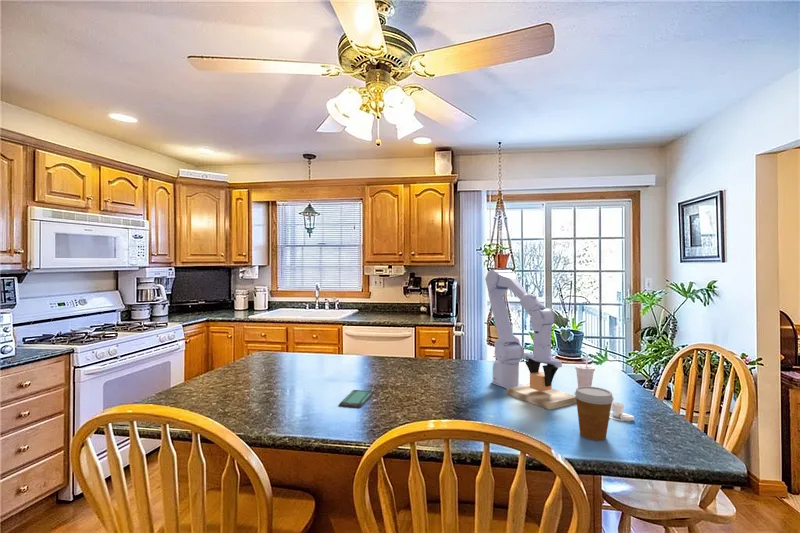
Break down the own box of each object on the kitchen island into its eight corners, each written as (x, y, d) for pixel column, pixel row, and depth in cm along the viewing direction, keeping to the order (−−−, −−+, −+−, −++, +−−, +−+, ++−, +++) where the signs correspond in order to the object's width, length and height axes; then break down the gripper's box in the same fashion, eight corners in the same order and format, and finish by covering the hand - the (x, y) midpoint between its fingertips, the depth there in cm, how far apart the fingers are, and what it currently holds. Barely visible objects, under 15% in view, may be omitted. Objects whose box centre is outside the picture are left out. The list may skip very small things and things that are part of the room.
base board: (506, 393, 145) (507, 388, 145) (534, 388, 152) (534, 382, 152) (549, 409, 129) (549, 403, 129) (577, 402, 136) (577, 396, 136)
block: (529, 387, 141) (529, 373, 141) (539, 385, 144) (539, 371, 144) (541, 391, 137) (541, 376, 137) (551, 389, 140) (551, 374, 140)
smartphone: (338, 403, 129) (353, 389, 143) (338, 407, 129) (353, 392, 143) (361, 405, 127) (373, 390, 142) (361, 409, 127) (373, 394, 142)
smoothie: (596, 397, 143) (597, 357, 143) (576, 395, 144) (577, 356, 144) (591, 391, 149) (592, 353, 149) (572, 390, 150) (573, 352, 150)
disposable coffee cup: (567, 428, 114) (568, 385, 114) (599, 428, 115) (600, 385, 115) (585, 443, 105) (586, 396, 105) (620, 443, 106) (621, 396, 106)
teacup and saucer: (638, 424, 120) (638, 410, 120) (609, 422, 121) (609, 408, 121) (627, 413, 128) (627, 400, 128) (600, 411, 130) (600, 398, 130)
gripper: (517, 341, 145) (516, 380, 145) (552, 349, 132) (551, 391, 132) (531, 340, 148) (530, 377, 148) (566, 347, 136) (565, 388, 136)
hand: (541, 383), depth 141 cm, fingers closed on block, 5 cm apart
